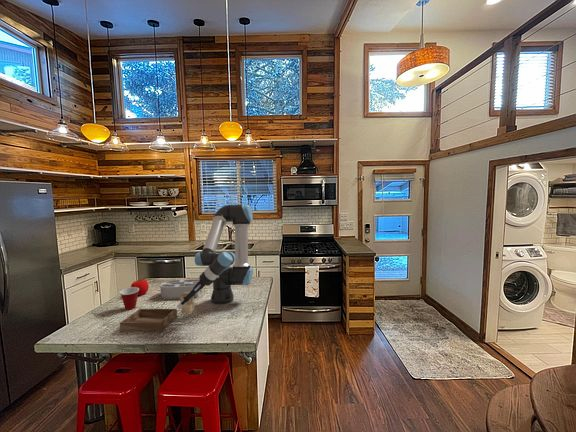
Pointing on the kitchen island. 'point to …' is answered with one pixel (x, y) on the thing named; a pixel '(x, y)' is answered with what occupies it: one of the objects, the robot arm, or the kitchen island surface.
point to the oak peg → (187, 304)
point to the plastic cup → (129, 297)
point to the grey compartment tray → (178, 288)
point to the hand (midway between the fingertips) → (181, 305)
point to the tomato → (141, 286)
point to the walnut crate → (148, 320)
